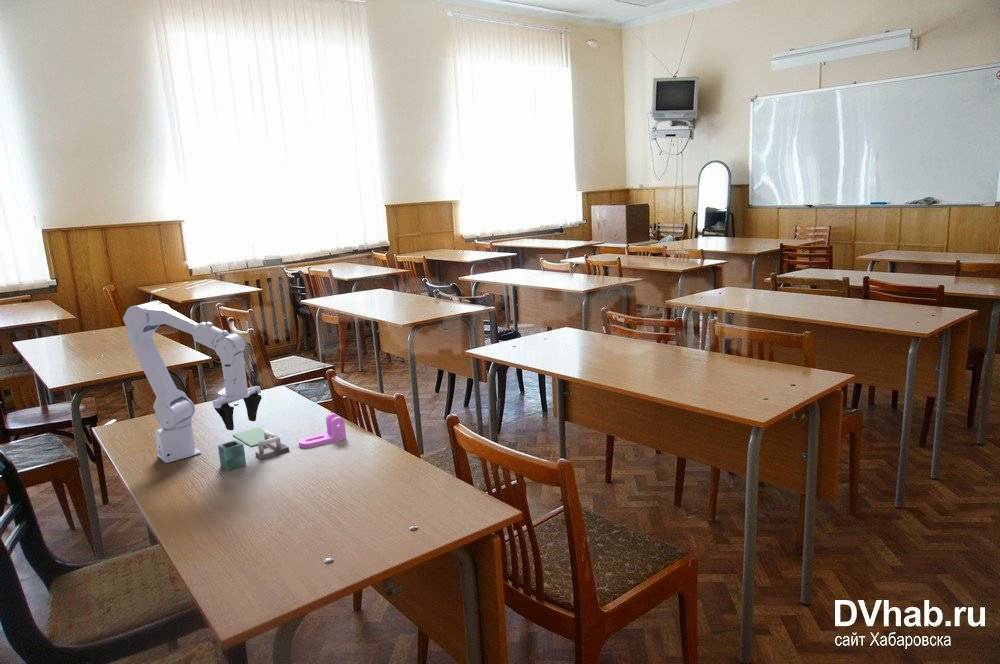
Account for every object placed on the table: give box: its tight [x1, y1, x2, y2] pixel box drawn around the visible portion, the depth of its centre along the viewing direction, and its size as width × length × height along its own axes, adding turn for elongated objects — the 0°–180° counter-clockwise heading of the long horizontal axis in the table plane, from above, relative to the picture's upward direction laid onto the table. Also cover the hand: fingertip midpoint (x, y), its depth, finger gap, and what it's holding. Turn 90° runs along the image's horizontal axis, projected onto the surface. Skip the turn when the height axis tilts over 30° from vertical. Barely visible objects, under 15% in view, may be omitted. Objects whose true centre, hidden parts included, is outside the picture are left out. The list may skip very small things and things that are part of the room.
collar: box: [217, 439, 247, 472], centre depth 180 cm, size 5×5×6 cm
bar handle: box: [255, 429, 290, 460], centre depth 190 cm, size 8×12×4 cm
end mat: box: [232, 427, 271, 448], centre depth 201 cm, size 8×14×1 cm, turn 42°
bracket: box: [298, 412, 347, 449], centre depth 195 cm, size 13×6×7 cm, turn 123°
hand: (241, 425), depth 186 cm, fingers open, 7 cm apart
